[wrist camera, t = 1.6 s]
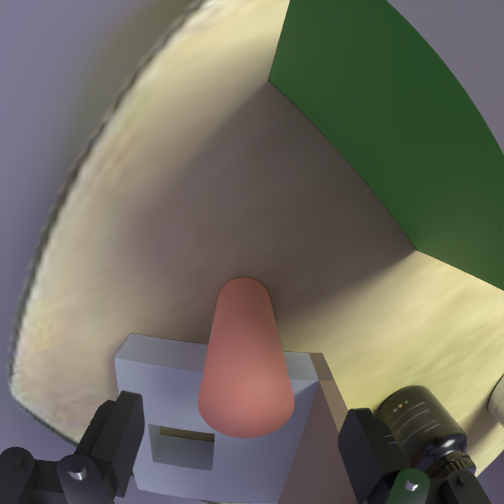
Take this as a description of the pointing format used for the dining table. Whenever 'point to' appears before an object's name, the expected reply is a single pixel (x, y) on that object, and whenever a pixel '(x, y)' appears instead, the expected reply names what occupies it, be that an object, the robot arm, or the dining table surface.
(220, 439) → the socket
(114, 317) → the dining table surface
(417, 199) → the hardback book
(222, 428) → the peg
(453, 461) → the supplement bottle
